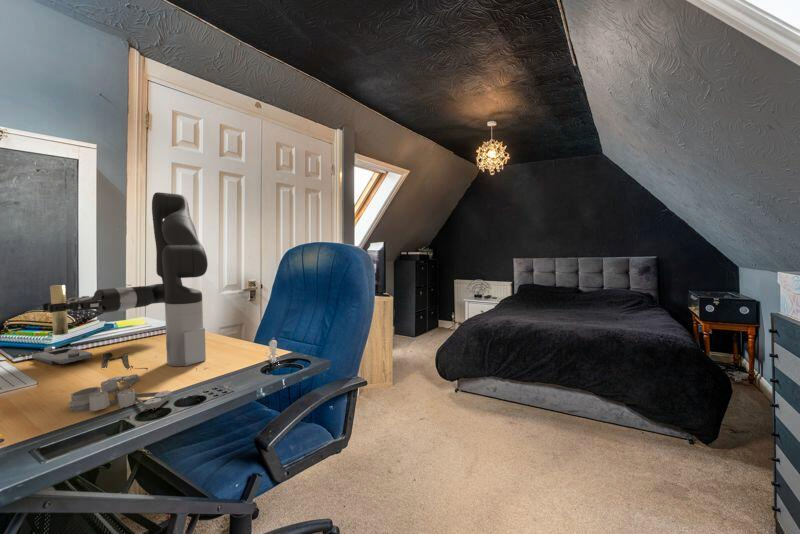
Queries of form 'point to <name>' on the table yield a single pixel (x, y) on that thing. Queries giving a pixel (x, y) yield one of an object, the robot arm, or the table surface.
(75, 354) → the grey base plate
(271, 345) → the toy figurine
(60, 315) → the pin
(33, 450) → the table surface
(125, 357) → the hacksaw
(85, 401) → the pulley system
